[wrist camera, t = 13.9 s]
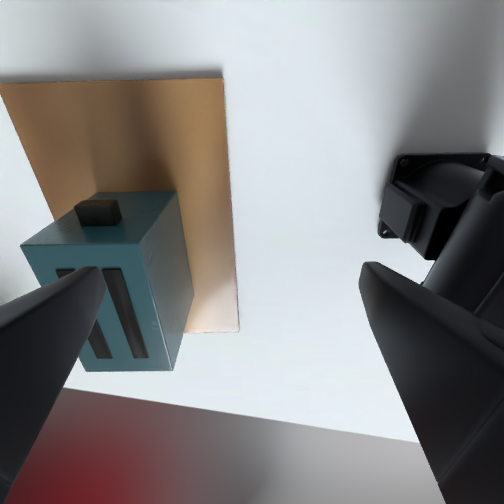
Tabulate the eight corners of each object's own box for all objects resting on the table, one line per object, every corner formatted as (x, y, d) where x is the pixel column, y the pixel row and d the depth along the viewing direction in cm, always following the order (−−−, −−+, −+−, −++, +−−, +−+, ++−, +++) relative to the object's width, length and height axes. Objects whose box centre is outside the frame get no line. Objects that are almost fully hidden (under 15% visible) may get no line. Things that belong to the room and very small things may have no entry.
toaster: (194, 294, 26) (172, 372, 19) (130, 295, 26) (84, 373, 19) (174, 174, 20) (132, 221, 13) (91, 175, 20) (4, 224, 13)
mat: (223, 77, 17) (222, 77, 17) (239, 329, 28) (239, 332, 28) (0, 83, 17) (-5, 83, 17) (105, 331, 29) (103, 334, 28)
